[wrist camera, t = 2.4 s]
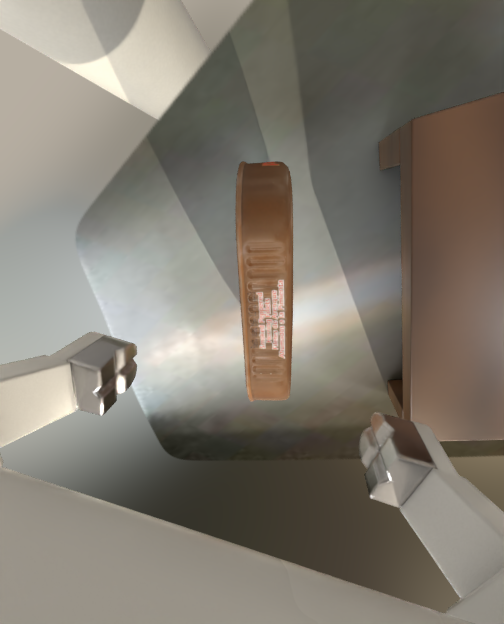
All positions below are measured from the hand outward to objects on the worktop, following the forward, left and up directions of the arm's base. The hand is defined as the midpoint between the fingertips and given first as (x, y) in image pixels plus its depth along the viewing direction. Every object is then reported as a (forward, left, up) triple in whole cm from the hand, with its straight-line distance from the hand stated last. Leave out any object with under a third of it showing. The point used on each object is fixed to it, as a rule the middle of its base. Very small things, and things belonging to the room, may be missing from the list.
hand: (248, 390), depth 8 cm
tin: (0, 0, -13) cm, 13 cm away
